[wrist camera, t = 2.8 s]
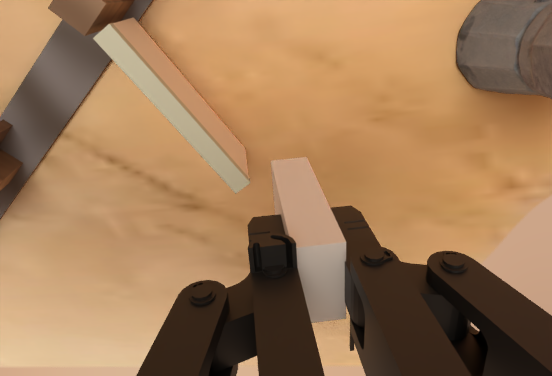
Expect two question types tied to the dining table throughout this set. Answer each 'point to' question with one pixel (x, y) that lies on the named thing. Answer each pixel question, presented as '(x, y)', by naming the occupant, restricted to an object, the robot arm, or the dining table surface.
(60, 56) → the fence
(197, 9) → the dining table surface
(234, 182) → the beige flat panel
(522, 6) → the moka pot
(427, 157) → the dining table surface
